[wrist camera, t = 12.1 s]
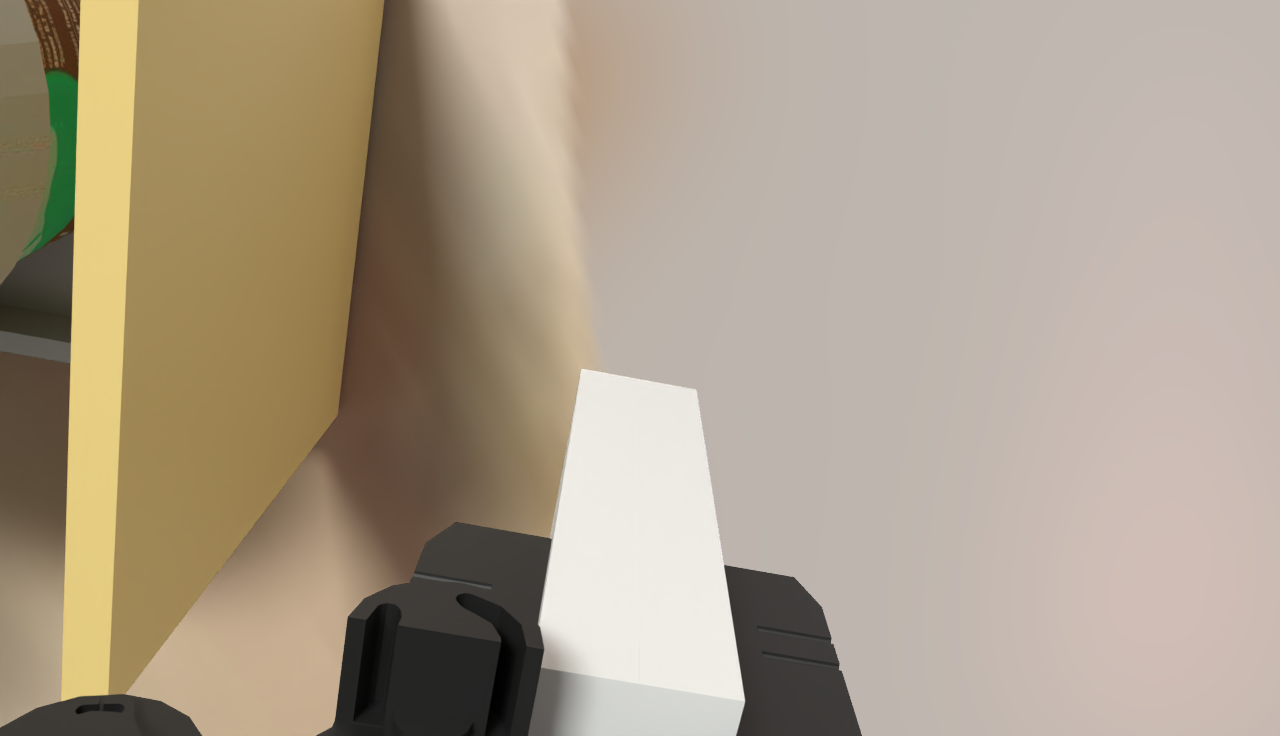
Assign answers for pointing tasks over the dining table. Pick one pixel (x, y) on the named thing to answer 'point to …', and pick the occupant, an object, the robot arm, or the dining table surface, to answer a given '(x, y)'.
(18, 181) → the food container
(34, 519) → the dining table surface
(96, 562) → the tan boxy piece
